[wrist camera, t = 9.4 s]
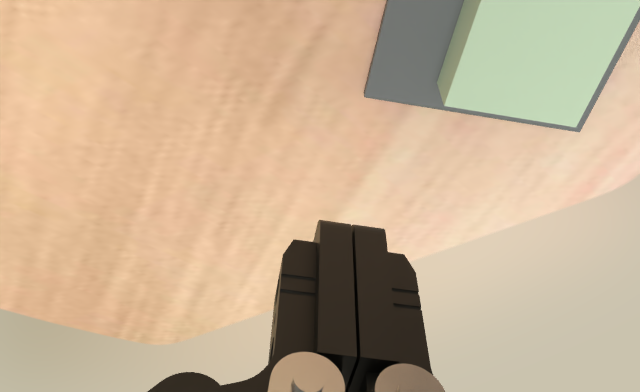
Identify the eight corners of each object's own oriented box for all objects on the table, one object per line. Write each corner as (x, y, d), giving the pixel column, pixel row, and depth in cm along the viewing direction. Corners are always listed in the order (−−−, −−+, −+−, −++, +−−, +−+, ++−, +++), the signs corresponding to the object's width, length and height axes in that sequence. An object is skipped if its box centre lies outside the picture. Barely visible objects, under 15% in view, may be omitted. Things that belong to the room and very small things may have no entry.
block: (529, -139, 29) (698, -104, 30) (514, -150, 31) (669, -117, 32) (443, 105, 37) (575, 127, 38) (436, 82, 40) (560, 103, 41)
